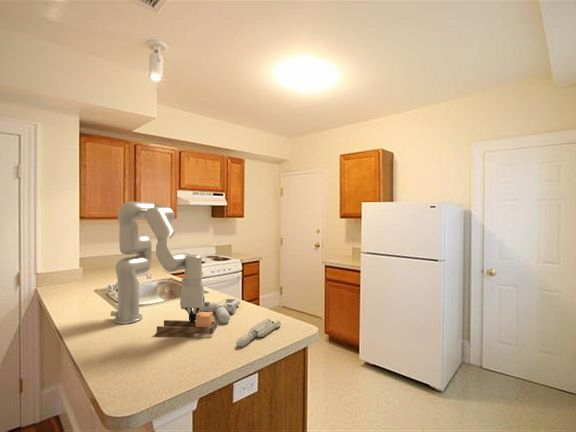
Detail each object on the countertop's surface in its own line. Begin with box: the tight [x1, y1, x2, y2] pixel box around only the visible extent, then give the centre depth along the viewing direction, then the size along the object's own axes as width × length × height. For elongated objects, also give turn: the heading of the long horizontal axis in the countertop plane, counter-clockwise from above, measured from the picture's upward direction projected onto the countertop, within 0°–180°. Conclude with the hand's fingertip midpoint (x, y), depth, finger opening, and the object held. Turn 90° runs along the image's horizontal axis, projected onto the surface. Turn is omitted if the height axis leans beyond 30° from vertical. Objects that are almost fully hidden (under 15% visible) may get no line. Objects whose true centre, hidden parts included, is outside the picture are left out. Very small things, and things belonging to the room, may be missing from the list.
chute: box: [154, 319, 219, 338], centre depth 141 cm, size 25×12×4 cm, turn 89°
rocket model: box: [235, 318, 282, 348], centre depth 138 cm, size 9×4×30 cm
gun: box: [199, 298, 241, 324], centre depth 167 cm, size 6×29×30 cm
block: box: [195, 311, 214, 327], centre depth 141 cm, size 6×6×7 cm
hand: (192, 321), depth 141 cm, fingers closed
